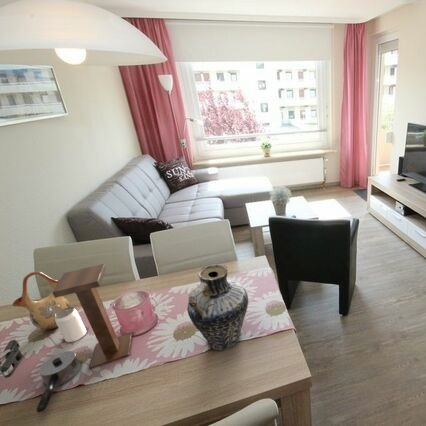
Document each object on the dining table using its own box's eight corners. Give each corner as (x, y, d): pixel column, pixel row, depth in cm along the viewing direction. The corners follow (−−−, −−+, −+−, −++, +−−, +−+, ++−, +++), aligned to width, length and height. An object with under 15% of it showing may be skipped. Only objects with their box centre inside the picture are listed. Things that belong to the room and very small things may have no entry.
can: (83, 328, 115) (72, 304, 110) (90, 335, 111) (78, 310, 107) (63, 339, 110) (50, 314, 105) (69, 346, 107) (56, 321, 102)
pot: (26, 429, 80) (14, 412, 77) (52, 370, 98) (43, 355, 95) (66, 414, 84) (56, 398, 81) (84, 359, 101) (77, 344, 98)
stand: (91, 370, 97) (52, 292, 84) (98, 346, 106) (63, 273, 93) (129, 357, 101) (97, 281, 88) (132, 335, 110) (104, 263, 98)
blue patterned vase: (217, 317, 117) (201, 252, 105) (262, 323, 113) (251, 256, 101) (185, 361, 98) (162, 288, 87) (238, 369, 94) (221, 295, 83)
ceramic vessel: (75, 308, 126) (51, 259, 116) (86, 314, 122) (62, 264, 112) (26, 335, 113) (-5, 282, 103) (37, 343, 109) (6, 288, 99)
